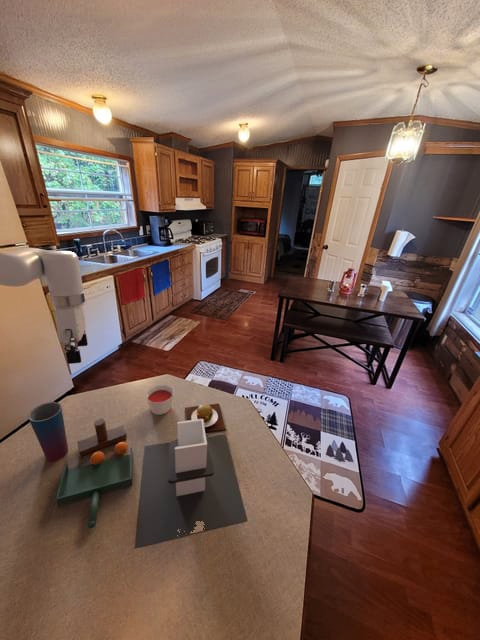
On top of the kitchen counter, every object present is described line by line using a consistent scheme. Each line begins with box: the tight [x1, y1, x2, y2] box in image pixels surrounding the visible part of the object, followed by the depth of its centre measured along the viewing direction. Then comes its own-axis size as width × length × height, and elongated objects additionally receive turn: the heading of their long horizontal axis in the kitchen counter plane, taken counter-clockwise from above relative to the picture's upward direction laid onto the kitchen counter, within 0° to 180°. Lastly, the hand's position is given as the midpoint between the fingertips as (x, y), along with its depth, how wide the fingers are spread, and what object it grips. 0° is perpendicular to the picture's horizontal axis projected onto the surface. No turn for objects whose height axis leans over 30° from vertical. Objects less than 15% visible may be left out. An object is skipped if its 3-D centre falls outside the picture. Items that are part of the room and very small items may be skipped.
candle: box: [145, 384, 175, 416], centre depth 87 cm, size 9×9×6 cm
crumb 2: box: [114, 441, 128, 455], centre depth 71 cm, size 3×3×3 cm
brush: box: [77, 418, 127, 459], centre depth 72 cm, size 4×12×8 cm, turn 125°
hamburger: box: [184, 403, 227, 434], centre depth 84 cm, size 12×12×6 cm
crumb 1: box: [90, 450, 105, 465], centre depth 68 cm, size 3×3×3 cm
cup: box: [27, 401, 69, 462], centre depth 67 cm, size 7×7×15 cm
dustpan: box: [55, 447, 134, 530], centre depth 61 cm, size 17×16×3 cm
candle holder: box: [134, 419, 248, 549], centre depth 63 cm, size 25×24×16 cm
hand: (78, 353), depth 74 cm, fingers open, 9 cm apart
